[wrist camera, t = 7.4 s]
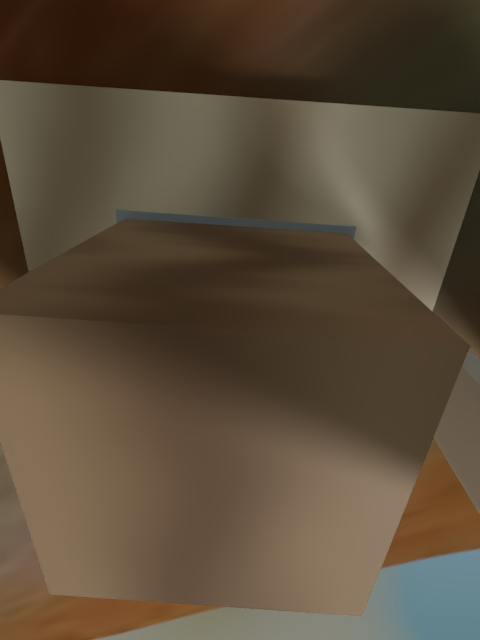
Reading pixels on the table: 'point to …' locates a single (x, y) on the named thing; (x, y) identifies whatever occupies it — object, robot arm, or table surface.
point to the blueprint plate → (239, 169)
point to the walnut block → (218, 414)
